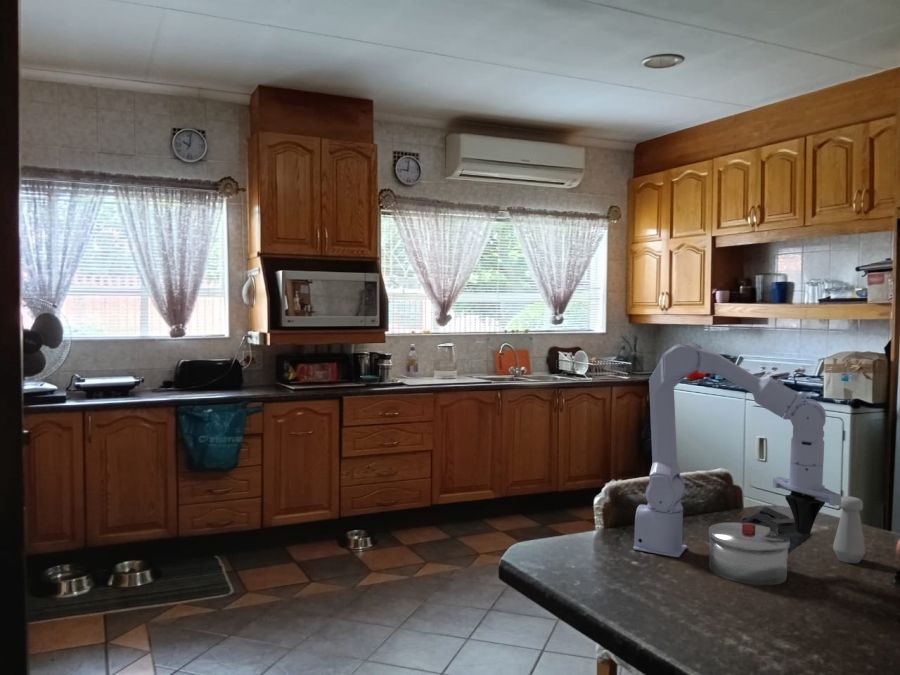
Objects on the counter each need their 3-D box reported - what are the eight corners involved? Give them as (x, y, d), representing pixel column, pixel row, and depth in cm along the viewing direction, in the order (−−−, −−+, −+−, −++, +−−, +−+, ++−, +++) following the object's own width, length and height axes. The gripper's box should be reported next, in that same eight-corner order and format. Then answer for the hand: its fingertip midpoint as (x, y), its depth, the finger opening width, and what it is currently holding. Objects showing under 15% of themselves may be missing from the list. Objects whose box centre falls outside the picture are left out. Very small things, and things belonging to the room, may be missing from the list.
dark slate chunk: (714, 542, 159) (715, 521, 159) (745, 521, 176) (746, 502, 176) (788, 558, 149) (789, 536, 149) (813, 534, 167) (814, 514, 166)
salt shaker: (868, 566, 144) (871, 502, 144) (838, 563, 146) (840, 500, 145) (858, 556, 150) (861, 495, 150) (828, 554, 151) (831, 493, 151)
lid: (740, 554, 131) (741, 537, 131) (693, 530, 145) (694, 514, 145) (831, 547, 136) (832, 530, 136) (777, 524, 150) (778, 509, 150)
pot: (782, 591, 130) (784, 558, 130) (702, 575, 137) (703, 544, 137) (792, 559, 147) (793, 530, 147) (720, 546, 154) (721, 519, 154)
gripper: (854, 470, 133) (851, 542, 133) (793, 454, 146) (790, 520, 147) (825, 472, 130) (822, 546, 131) (765, 456, 144) (763, 523, 144)
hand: (803, 532), depth 139 cm, fingers closed
